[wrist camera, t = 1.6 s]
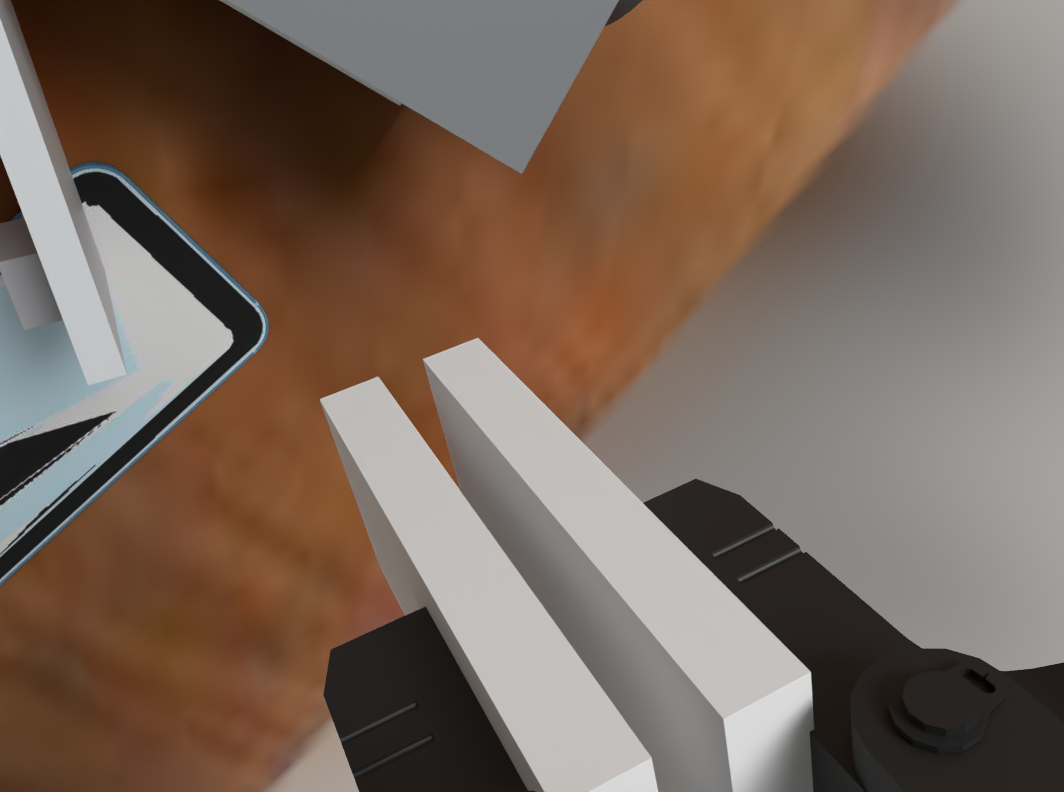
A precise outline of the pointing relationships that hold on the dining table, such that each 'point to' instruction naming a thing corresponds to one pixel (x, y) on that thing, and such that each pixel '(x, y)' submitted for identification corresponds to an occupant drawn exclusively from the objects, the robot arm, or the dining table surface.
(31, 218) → the door
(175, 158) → the dining table surface
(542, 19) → the camera body
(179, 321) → the smartphone
